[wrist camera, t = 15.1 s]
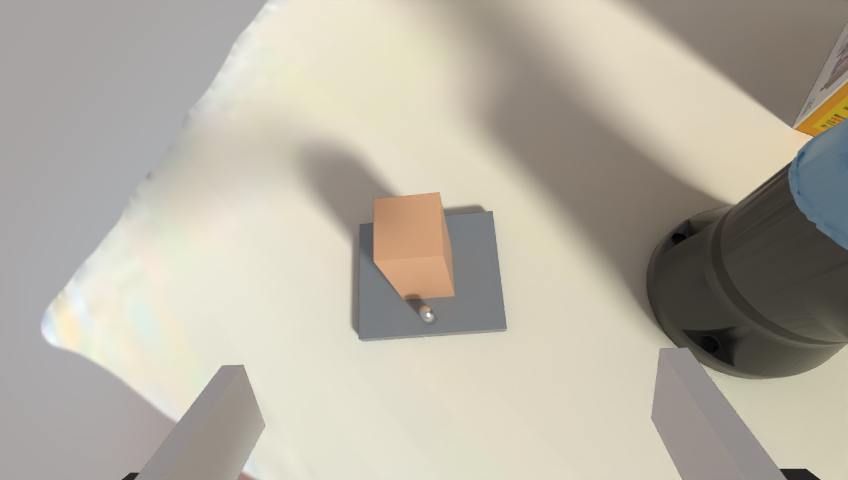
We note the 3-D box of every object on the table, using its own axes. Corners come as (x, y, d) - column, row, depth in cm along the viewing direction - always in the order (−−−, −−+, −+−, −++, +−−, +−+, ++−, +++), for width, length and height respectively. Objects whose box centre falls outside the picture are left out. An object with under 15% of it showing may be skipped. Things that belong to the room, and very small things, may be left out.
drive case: (451, 247, 43) (439, 192, 31) (454, 296, 41) (443, 255, 30) (402, 251, 43) (373, 198, 32) (403, 300, 41) (373, 261, 30)
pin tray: (492, 217, 45) (493, 195, 40) (505, 331, 40) (508, 321, 36) (363, 229, 46) (349, 210, 42) (363, 341, 42) (347, 333, 37)
